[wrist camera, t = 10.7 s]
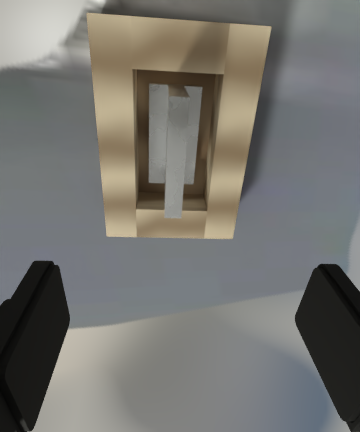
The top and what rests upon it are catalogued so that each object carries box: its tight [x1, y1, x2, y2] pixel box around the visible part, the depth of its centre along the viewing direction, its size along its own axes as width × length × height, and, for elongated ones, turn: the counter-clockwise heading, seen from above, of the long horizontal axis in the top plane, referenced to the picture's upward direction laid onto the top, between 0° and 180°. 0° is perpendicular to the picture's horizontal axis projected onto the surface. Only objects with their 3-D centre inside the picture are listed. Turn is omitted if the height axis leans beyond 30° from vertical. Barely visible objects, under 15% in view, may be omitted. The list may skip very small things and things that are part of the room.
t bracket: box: [149, 83, 202, 218], centre depth 26 cm, size 10×5×8 cm, turn 177°
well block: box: [87, 13, 272, 239], centre depth 28 cm, size 20×14×4 cm
